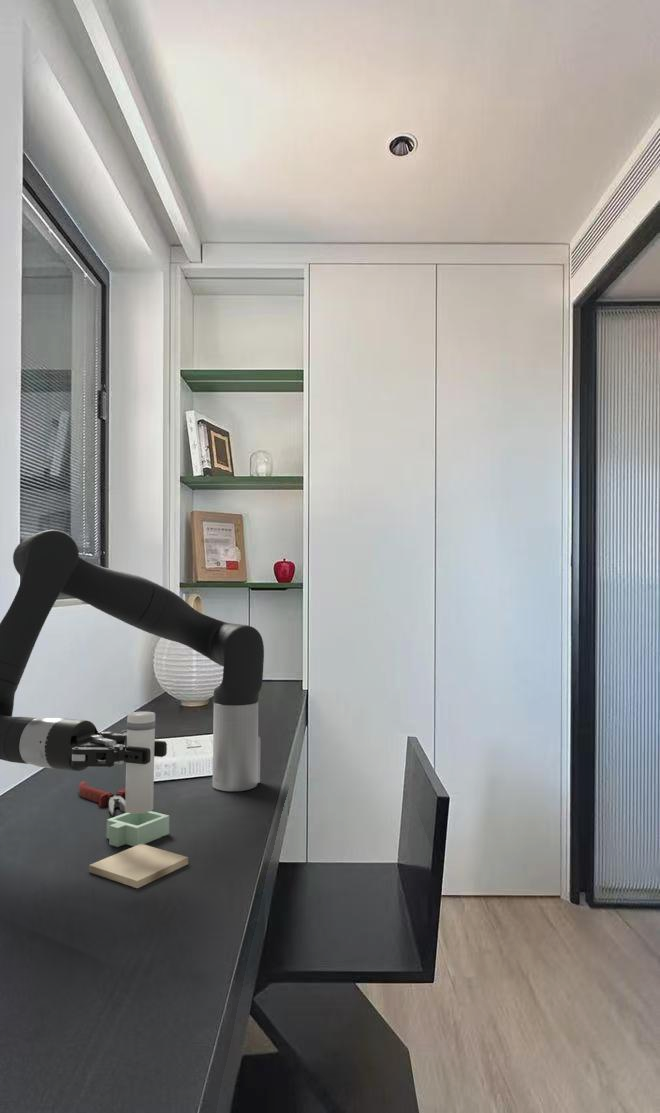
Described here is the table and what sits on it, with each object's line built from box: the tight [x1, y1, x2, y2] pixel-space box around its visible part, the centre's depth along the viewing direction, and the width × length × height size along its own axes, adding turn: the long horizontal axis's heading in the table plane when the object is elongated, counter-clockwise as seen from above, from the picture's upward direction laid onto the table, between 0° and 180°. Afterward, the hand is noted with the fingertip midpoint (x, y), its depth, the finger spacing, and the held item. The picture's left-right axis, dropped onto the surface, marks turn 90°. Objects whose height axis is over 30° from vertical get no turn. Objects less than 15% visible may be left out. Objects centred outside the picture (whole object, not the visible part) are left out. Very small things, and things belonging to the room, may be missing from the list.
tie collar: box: [105, 810, 170, 848], centre depth 117 cm, size 9×7×3 cm
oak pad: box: [88, 844, 189, 889], centre depth 105 cm, size 10×10×1 cm
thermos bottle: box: [125, 711, 156, 814], centre depth 105 cm, size 4×4×14 cm
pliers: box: [78, 780, 127, 817], centre depth 136 cm, size 12×20×3 cm, turn 24°
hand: (157, 752), depth 104 cm, fingers closed on thermos bottle, 4 cm apart
